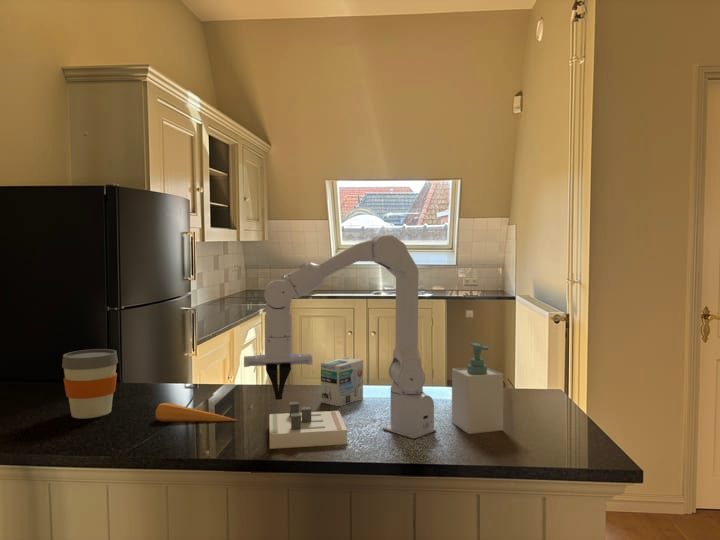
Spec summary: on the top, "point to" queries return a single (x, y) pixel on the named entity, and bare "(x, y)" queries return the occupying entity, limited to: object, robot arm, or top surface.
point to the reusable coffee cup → (90, 381)
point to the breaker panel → (306, 429)
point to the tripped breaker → (306, 414)
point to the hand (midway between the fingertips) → (278, 398)
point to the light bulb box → (341, 381)
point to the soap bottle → (477, 396)
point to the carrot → (185, 414)
